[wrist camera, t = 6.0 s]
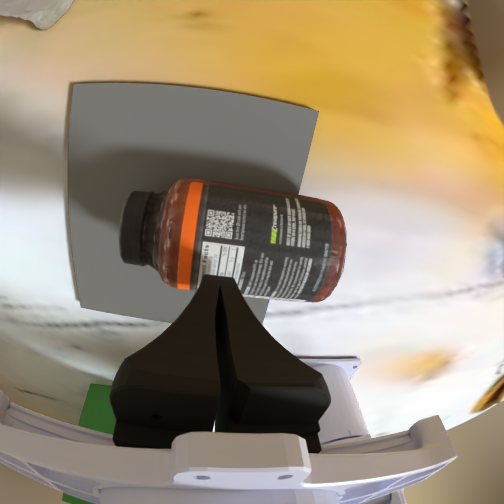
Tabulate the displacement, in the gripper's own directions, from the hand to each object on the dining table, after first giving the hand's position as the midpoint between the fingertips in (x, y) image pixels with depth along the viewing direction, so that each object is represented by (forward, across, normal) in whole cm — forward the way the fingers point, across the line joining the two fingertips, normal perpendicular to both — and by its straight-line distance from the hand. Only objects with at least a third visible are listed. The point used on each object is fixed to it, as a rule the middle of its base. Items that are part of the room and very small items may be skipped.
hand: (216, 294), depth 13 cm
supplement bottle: (+4, -6, -1) cm, 8 cm away
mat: (+7, +3, 0) cm, 8 cm away
